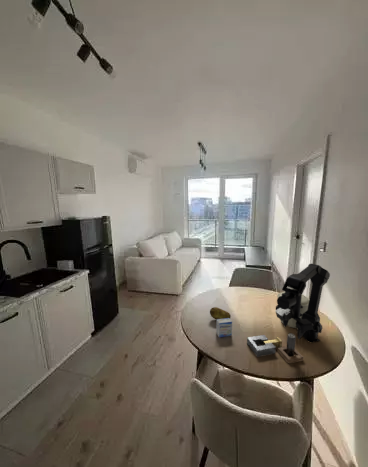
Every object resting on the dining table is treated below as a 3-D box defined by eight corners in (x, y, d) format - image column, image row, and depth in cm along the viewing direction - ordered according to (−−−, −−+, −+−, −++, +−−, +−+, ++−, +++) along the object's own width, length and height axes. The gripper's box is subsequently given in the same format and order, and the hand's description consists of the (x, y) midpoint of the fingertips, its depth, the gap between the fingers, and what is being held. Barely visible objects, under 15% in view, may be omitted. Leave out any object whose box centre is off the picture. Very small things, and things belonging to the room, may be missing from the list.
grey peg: (290, 351, 106) (292, 332, 104) (295, 356, 102) (297, 337, 101) (284, 352, 105) (285, 333, 103) (289, 358, 102) (290, 338, 100)
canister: (313, 333, 121) (316, 299, 117) (279, 330, 124) (281, 296, 121) (302, 316, 138) (305, 286, 135) (272, 313, 142) (274, 284, 138)
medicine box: (218, 337, 118) (219, 323, 117) (216, 332, 122) (216, 319, 121) (232, 335, 120) (232, 321, 118) (228, 331, 124) (229, 317, 123)
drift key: (277, 343, 113) (278, 336, 113) (281, 347, 110) (282, 340, 110) (262, 345, 111) (262, 339, 111) (266, 349, 108) (266, 343, 108)
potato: (229, 325, 129) (229, 313, 128) (208, 321, 133) (208, 309, 132) (231, 318, 137) (231, 306, 136) (211, 314, 141) (211, 303, 140)
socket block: (263, 340, 115) (264, 334, 115) (275, 353, 106) (275, 347, 105) (247, 343, 113) (247, 337, 113) (257, 356, 104) (257, 350, 103)
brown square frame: (291, 349, 109) (291, 345, 108) (303, 360, 101) (303, 356, 101) (277, 351, 107) (277, 348, 107) (288, 363, 99) (288, 359, 99)
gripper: (267, 295, 107) (265, 323, 110) (293, 315, 89) (290, 348, 92) (286, 293, 109) (284, 320, 112) (315, 311, 91) (312, 344, 94)
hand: (291, 332), depth 102 cm, fingers open, 9 cm apart
